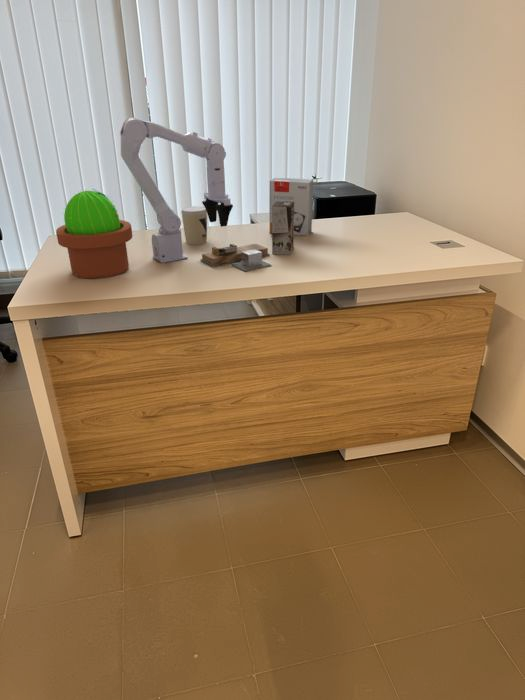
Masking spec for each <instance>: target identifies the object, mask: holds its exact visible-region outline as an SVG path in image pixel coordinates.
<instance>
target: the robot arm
mask: <svg viewBox="0 0 525 700" xmlns="http://www.w3.org/2000/svg"><path fill="white" fill-rule="evenodd" d="M119 134H120V135H119V136H120V156H121V158H122V160H123V162H124V164H125V165H126V166H127V169H128V170H129V172H131V173H130V174H131V175H132V176H133V178H134V179H135V181H136V183H137V185H139V188H140V189H141V191H142V193H143V194H144V195H145V197H146V199H147V200H148V202H149V204H150V205H151V207H152V209H153V211H154V212H155V214H156V219H157V223H158V224H159V225H160V227H159V229H158V232H157V233H156V232H155V233H153V234H152V235H151V245H152V246H151V247H152V255H153V256H152V259H155V260H156V261H157V262H160V263H162V264H165V263H169V262H175V261H180V260H185V259H188V258H189V257H188V256H187V255H185V254H184V251H183V240H182V239H183V238H182V230H181V226H182V220H181V219H180V217H179V215H177V214H176V213H175V211H174V210H173V209H171V207H170V206H169V204H168V203H167V202H166V199H165V198H164V197H163V194H162V193H161V191H160V190H159V188H158V186H157V185H156V183H155V182H154V179H153V178H152V176H151V175H150V173H149V172H148V170H147V168H146V167H145V165H144V162H142V160H141V158H140V156H139V153H140V149H141V145H142V144H143V142H144V141H145V139H146V138H148V139H153V138H160V139H164V140H166V141H168V142H171V143H175V144H178V145H180V146H181V148H182V150H183V151H184V152H186V153H189V154H191V155H195V156H197V157H200V158H202V159H206V162H205V163H206V180H207V181H206V184H207V192H204V193H203V196H204V200H203V201H202V202H201V203H202V205H203V207H205V209H206V211H207V218H208V221H209V222H210V223H214V222H215V223H216V222H217V216H218V218H219V219H218V220H219V226H220V227H227V226H228V221H229V217H230V213H231V211H232V209H233V206H234V205H233V204H232V203H231V198H229V194H226V179H225V178H226V177H225V166H224V165H225V164H224V161H225V158H226V156H227V152H226V150H225V147H224V146H223V145H222V144H220V143H218V142H215V141H213V140H212V139H211V138H210V137H209V138H205V137H203V136H200V135H199V133H198V132H196V131H192V132H186V133H185V134H184V133H183V134H182V133H180V132H178V131H175V130H173V129H171V128H168V127H165V126H163V125H161V124H158V123H155V122H153V121H148V120H145V119H143V120H142V119H138V118H136V117H129V118H127V119H125V120H124V122H123V123H122V126H121V129H120V131H119Z"/></svg>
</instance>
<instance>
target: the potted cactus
mask: <svg viewBox="0 0 525 700" xmlns="http://www.w3.org/2000/svg"><path fill="white" fill-rule="evenodd" d="M113 202H114V200H111V199H110V198H109V196H107V195H106V194H105V193H103V192H101V191H99V190H96V189H94V188H92V190H83V191H82V190H80V191H79V192H78V193H75V194H74V195H73V196H72V197H71V198H70V199H69V201H67V203H66V205H65V208H64V207H63V209H64V213H62V215H64V216H63V217H64V218H63V221H64V224H63V225H61V226H59V227H58V228H56V230H55V234H56V239H57V243H58V245H59V246H60V247H63V248H66V249H67V252H68V253H67V254H68V258H69V264H70V268H71V273H72V275H74V276H76V277H78V278H82V279H101V278H102V279H103V278H108V277H114V276H115V277H116V276H118V275H120V274H123V273H125V272H127V271H128V269H129V266H130V265H129V257H128V256H129V255H128V249H127V242H129V241H131V240H132V239H133V230H132V224H131V223H130V222H129V221H127V220H123V219H120V217H119V213H118V210H117V209H116V207H115V205H114V204H113Z"/></svg>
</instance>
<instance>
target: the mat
mask: <svg viewBox="0 0 525 700" xmlns="http://www.w3.org/2000/svg"><path fill="white" fill-rule="evenodd" d="M231 266H232V267H234V268H236V269H238V270H240V271H242V272H245V273H246V272H250V271H256V270H259V269H264V268H268V267H272V264H270V263H268V262H266V261H263V260H262V265H257V266H253V267H247V266H245V265H243V264H242V261H240V262H235V263H231Z"/></svg>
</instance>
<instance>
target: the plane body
mask: <svg viewBox="0 0 525 700" xmlns="http://www.w3.org/2000/svg"><path fill="white" fill-rule="evenodd" d="M230 246H231V247H236V249H237V251H233V252H227V253H219V248H218V247H216V246H212V247H211V251H209V252H205V253H201V257H202V258H201V259H200V262H201V263H203V264H205V265H207V266H209V267H211V268H214V267H220V266H225V265H229V264H235V263H240V262H242V252H244V251H249V250H254V249H256V250H258V251H260V252H262V258H263V257H268V256H269V257H270V253H269V252H268V251H269V249H268V247H266V246H263V245H260V244H258V243H253V244H248V245H247V244H246V245H241V246H237V244H235V243H229V247H230Z"/></svg>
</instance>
